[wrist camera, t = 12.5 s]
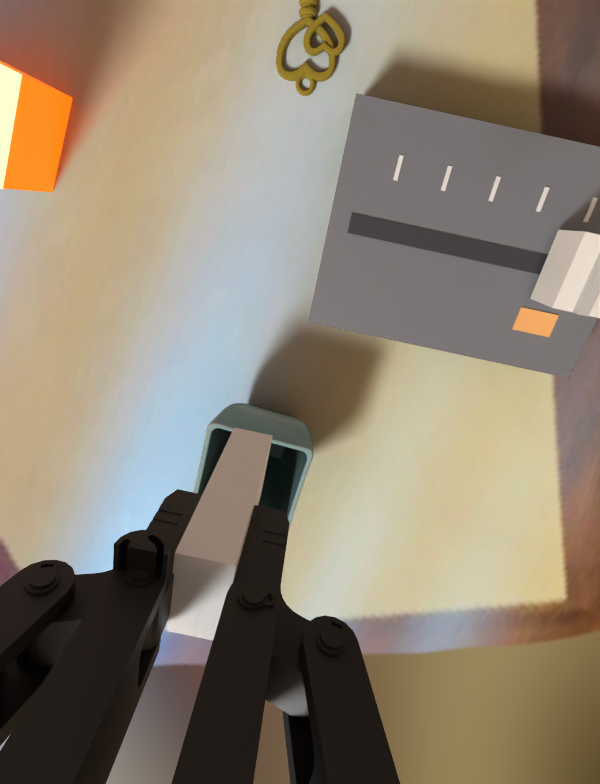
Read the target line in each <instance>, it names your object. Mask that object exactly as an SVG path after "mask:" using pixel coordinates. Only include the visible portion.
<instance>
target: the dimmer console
mask: <svg viewBox="0 0 600 784" xmlns="http://www.w3.org/2000/svg"><path fill="white" fill-rule="evenodd" d="M558 230H569V231H584V232H590V233H594V234H599V235H600V147H599V146H594V145H590V144H585V143H580V142H576V141H571V140H567V139H562V138H558V137H553V136H549V135H544V134H539V133H535V132H530V131H526V130H521V129H517V128H512V127H507V126H503V125H498V124H494V123H489V122H485V121H480V120H476V119H471V118H466V117H462V116H457V115H453V114H448V113H444V112H439V111H435V110H430V109H425V108H421V107H416V106H412V105H407V104H403V103H398V102H394V101H389V100H384V99H380V98H375V97H371V96H366V95H362V94H357V93H356V98H355V103H354V107H353V112H352V117H351V122H350V126H349V131H348V136H347V141H346V145H345V150H344V155H343V160H342V164H341V169H340V174H339V179H338V183H337V188H336V193H335V198H334V202H333V207H332V212H331V217H330V221H329V226H328V231H327V236H326V240H325V245H324V250H323V254H322V259H321V264H320V269H319V273H318V278H317V283H316V288H315V292H314V297H313V302H312V307H311V311H310V316H309V321H308V322H311V323H316V324H320V325H325V326H330V327H334V328H339V329H344V330H348V331H353V332H358V333H362V334H367V335H372V336H376V337H381V338H385V339H390V340H395V341H399V342H404V343H409V344H413V345H418V346H423V347H427V348H432V349H437V350H441V351H446V352H450V353H455V354H460V355H464V356H469V357H474V358H478V359H483V360H488V361H492V362H497V363H502V364H506V365H511V366H515V367H520V368H525V369H529V370H534V371H539V372H543V373H548V374H553V375H557V376H562V377H567V378H570V375H571V373H572V371H573V369H574V367H575V365H576V363H577V361H578V359H579V357H580V355H581V353H582V351H583V349H584V346H585V344H586V342H587V340H588V338H589V336H590V334H591V332H592V330H593V328H594V326H595V324H596V322H597V319H598V318H596V317H592V316H583V315H578V314H575V313H573V312H569V311H564V310H559V309H555V308H551V307H549V306H546V305H544V304H542V303H539V302H537V301H535V300H532V299H530V298H531V295H532V293H533V290H534V288H535V285H536V283H537V281H538V278H539V276H540V273H541V271H542V268H543V266H544V264H545V261H546V259H547V256H548V254H549V251H550V249H551V246H552V244H553V242H554V239H555V237H556V234H557V232H558Z"/></svg>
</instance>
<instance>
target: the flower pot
mask: <svg viewBox="0 0 600 784" xmlns="http://www.w3.org/2000/svg"><path fill="white" fill-rule="evenodd" d="M234 427H235V428H239V429H244V430H249V431H253V432H258V433H263V434H267V435H272V436H273V437H272V442H271V447H270V452H269V457H268V462H267V467H266V472H265V477H264V482H263V487H262V492H261V496H260V500H259V504H258V506H263V507H268V508H273V509H277V510H282V511H285V513H286V515H287V518H288V520H289V528H290V525H291V521H292V518H293V515H294V511H295V508H296V505H297V502H298V498H299V495H300V493H301V490H302V486H303V483H304V480H305V477H306V475H307V472H308V469H309V466H310V463H311V461H312V458H313V448H312V441H311V435H310V431H309V428H308V426H307V425H306V424H305V423H304V422H303V421H301V420H300V419H297V418H294V417H291V416H287V415H283V414H280V413H276V412H273V411H269V410H266V409H262V408H259V407H255V406H252V405H248V404H243V403H236V404H232V405H229V406H228V407H226V408H225V409H224V410H223V411H222V412H221V413H220V414H219V415H218V416H217V417H216V418H215V419H214V420H213V421H212V422H211V423H210V424H209V425H208V427H207V430H206V436H205V441H204V446H203V451H202V456H201V461H200V466H199V470H198V475H197V479H196V484H195V489H194V493H197V494H201V495H202V494H203V492H204V490H205V488H206V486H207V484H208V482H209V480H210V478H211V475H212V473H213V471H214V469H215V467H216V465H217V463H218V461H219V459H220V456H221V454H222V452H223V450H224V448H225V446H226V444H227V442H228V440H229V437H230V435H231V433H232V431H233V429H234Z"/></svg>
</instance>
